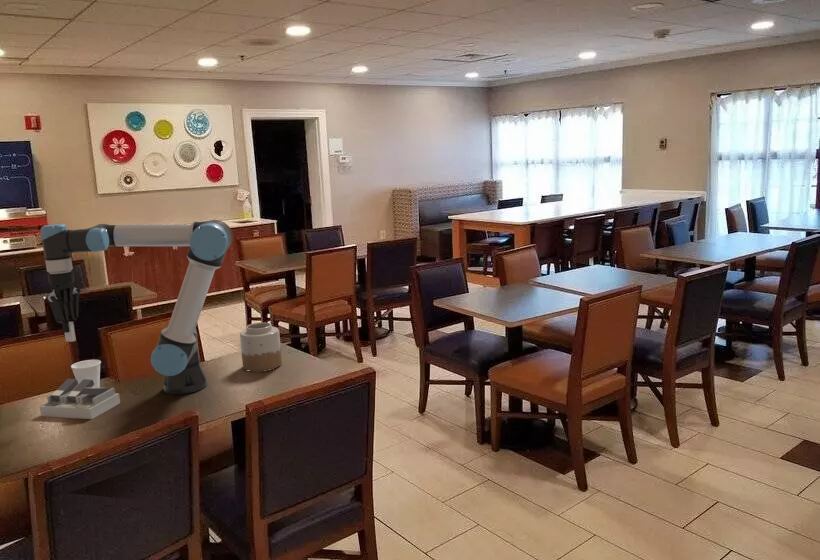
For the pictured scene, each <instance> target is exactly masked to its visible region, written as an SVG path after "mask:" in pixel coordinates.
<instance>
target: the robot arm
mask: <svg viewBox="0 0 820 560" xmlns="http://www.w3.org/2000/svg"><path fill="white" fill-rule="evenodd" d="M40 235H41V236H40V237H41V240H40V241H41V242H42V243H41V244H42V249H43V250H42V251H43V255H44V261H45V268H46V272H47V280H48V284H49V285H50V286H51V290H50V294H49V295H47V296H45V299H46V301H47V302H48V304H49V306H50V308H51V312H52V314H53V318H54V320H55V322H56V323H59V324H62V325H61V326H62V332H63V333H64V338H65V342H75V341H77V339H76V338H77V337H76V334H75V333H76V332H75V330H76V325H75V322H76V321H77V320H78V319H77V318H79V314H80V312H79V309H80V294H81V288H76V287H75V284H74V282H75V275H74V271H73V269H74V267H73V262H72V256H71V254H73V253H74V254H75V253H90V252H93V253H98V252H102V251H107V250H108V248H111V247H114V248H116V247H189V249H188V251H187V254H186V258H187V259H188V262H189V263H188V265H187V269H186V273H185V275H184V278H183V282H182V284H181V287H180V289H179V292H178V297H177V299H176V302H175V305H174V308H173V310H172V314H171V317H170V319H169V323H168V325H167V327H165V328H163V329H161V331H160V335H159V337H158V341H157V344H156V346H155V348H153V350H152V352H151V355H150V364H151V366H152V367H153V369H154V370H155V371H156V372H157V373H159V374H160V375H163V376H165V377H164V381H163V391H164V392H165V393H166V394H168V395H169V394H170V395H185V394H190V393H194V392H198V391H201V390H203V389H204V388H206V387H207V385H208V379H207V376H206V374H205V372H204V370H203V368H202V366H201V362H200V353H199V350H200V349H199V345H198V344H199V342H198V332H197V329H196V327H197V324H198V322H199V318H200V315H201V313H202V310H203V307H204V304H205V301H206V298H207V295H208V291H209V290H210V286H211V283H212V280H213V278H214V275H215V271H216V270H218V269H220V268H222V265H223V263H224V259H225V257H226V254H227V251H228V250H229V249H230V247H231V245H232V243H233V239H234V234H233V231H232V229H231V228H230V226H229V225H228V224H227V223H226V222H224V221H222V220H218V219H213V220H207V221H206V220H205V221H193V222H192V223H191V224H107V223H99V224H97V225H94V226H92V227H91V226H90V227H87V228H82V229H81V228H80V229H68V228H67V224H65V223H55V224H47V225H43V226H42V227H40Z"/></svg>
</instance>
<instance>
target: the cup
mask: <svg viewBox="0 0 820 560" xmlns="http://www.w3.org/2000/svg"><path fill="white" fill-rule="evenodd" d="M101 364H102V361H101V360H100V359H86V360H81V361H78V362H75V363H73V364H71V365H70V368H71V370H72V373H73V375H74V379H77V381H78V383H79V384H80V383H81V381H82V380H83V379H87V380H93V382H94V385H93V386H92V387H91V388H96V387H99V388H100V383H101V382H100V378H101ZM79 384H78V385H79ZM78 385H77V386H78Z"/></svg>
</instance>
